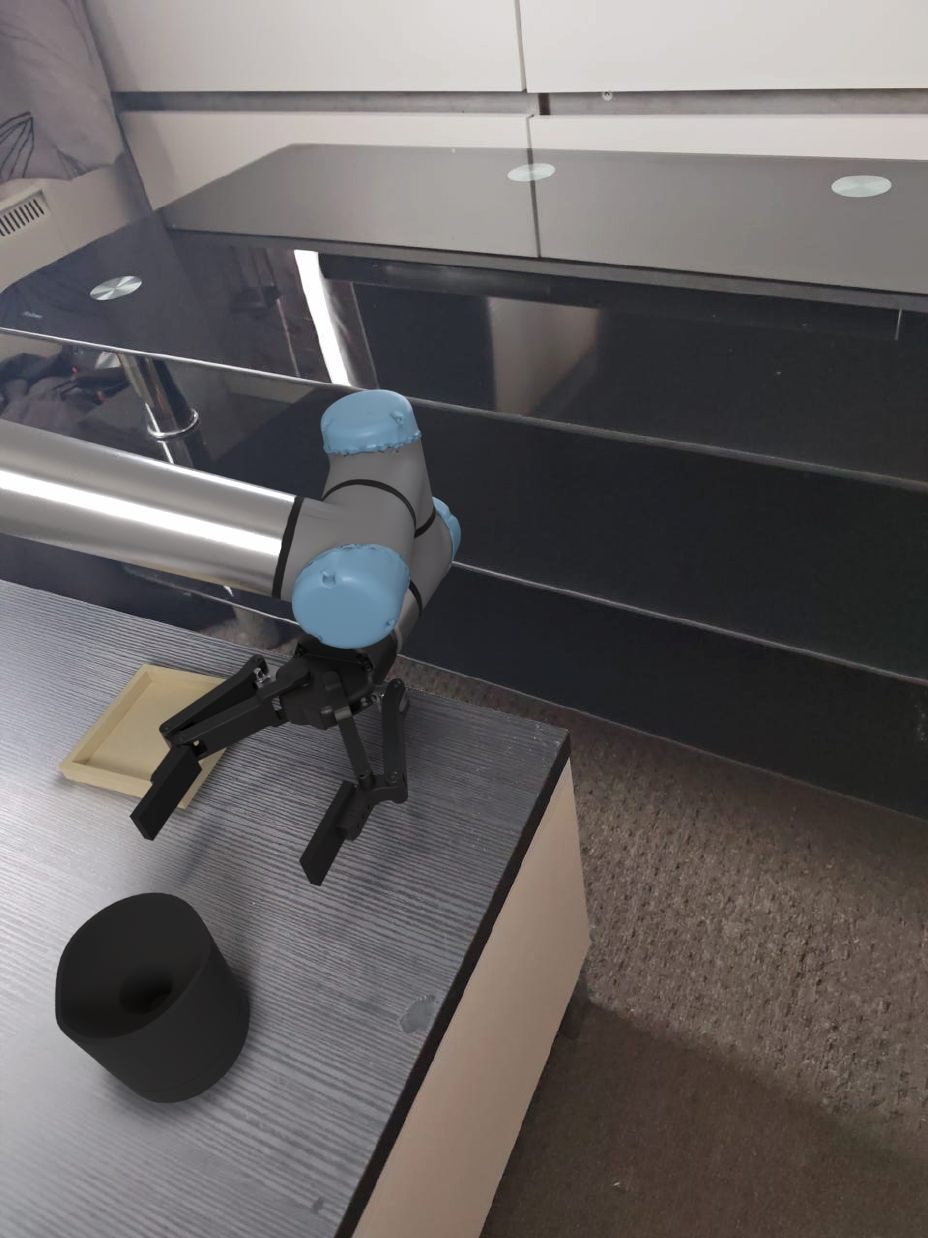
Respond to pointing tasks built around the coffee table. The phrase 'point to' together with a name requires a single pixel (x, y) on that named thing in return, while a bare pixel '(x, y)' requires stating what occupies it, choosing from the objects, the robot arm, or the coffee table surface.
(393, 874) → the coffee table surface
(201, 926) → the pen holder
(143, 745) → the pad
